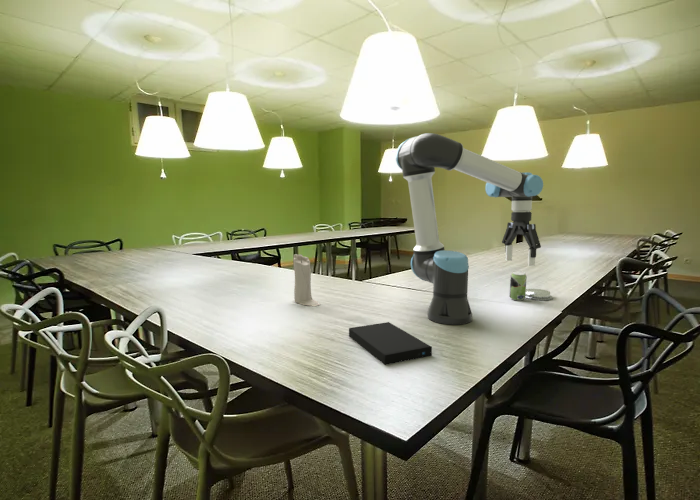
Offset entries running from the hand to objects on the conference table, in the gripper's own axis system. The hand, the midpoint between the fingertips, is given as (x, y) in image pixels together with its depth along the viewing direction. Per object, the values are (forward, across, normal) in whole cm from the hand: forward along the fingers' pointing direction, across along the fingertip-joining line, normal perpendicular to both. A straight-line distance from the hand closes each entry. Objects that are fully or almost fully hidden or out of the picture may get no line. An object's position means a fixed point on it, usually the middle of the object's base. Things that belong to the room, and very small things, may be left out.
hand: (519, 263), depth 157 cm
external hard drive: (+15, -33, +70) cm, 79 cm away
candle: (+15, +21, +85) cm, 89 cm away
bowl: (+16, +2, -11) cm, 19 cm away
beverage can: (+16, 0, 0) cm, 16 cm away
